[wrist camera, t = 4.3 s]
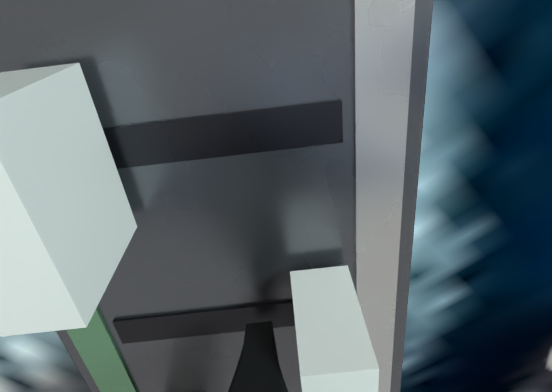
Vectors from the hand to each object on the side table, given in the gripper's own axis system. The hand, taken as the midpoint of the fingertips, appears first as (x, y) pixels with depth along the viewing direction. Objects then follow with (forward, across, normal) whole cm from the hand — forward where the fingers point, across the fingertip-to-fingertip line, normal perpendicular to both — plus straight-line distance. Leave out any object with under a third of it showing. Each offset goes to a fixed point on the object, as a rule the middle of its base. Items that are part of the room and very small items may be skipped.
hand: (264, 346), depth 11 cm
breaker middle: (+1, -2, 0) cm, 2 cm away
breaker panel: (+3, +1, 0) cm, 3 cm away
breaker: (+1, +4, -6) cm, 7 cm away
